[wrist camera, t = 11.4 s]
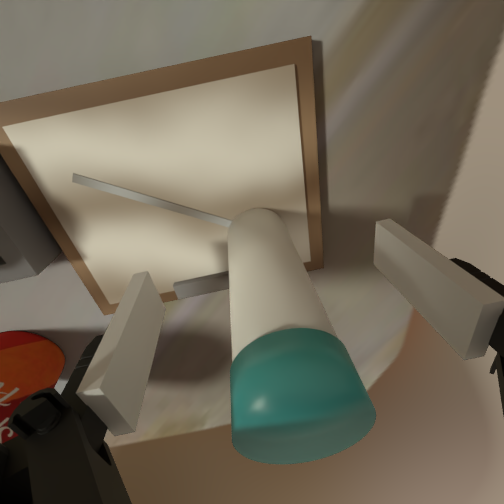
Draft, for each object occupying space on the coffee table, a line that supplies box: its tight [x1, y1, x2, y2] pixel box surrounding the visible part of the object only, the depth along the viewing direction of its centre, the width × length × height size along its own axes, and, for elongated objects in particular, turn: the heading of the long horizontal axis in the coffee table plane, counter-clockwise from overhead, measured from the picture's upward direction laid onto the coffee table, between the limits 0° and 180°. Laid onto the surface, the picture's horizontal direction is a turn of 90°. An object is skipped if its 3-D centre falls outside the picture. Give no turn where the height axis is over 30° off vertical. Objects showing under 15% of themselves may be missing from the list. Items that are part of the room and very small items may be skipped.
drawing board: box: [0, 36, 324, 315], centre depth 17 cm, size 14×17×2 cm
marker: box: [227, 208, 376, 464], centre depth 13 cm, size 4×4×12 cm
